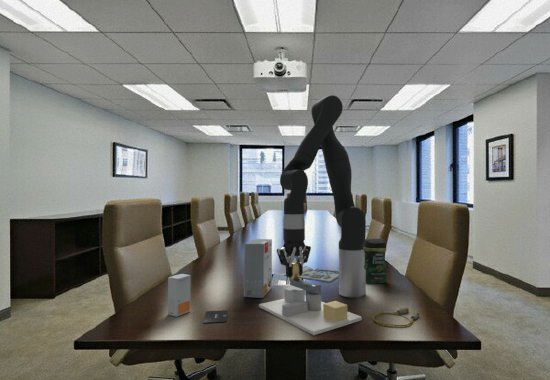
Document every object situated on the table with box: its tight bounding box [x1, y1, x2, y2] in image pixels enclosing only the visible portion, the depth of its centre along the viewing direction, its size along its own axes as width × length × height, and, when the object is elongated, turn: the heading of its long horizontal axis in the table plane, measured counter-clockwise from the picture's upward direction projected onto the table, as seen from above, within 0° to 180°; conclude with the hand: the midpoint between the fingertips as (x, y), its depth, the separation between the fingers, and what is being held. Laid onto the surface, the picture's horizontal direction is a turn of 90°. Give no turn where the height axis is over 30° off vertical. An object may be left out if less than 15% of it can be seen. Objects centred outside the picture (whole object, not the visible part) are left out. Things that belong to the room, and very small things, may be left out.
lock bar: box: [288, 261, 322, 294], centre depth 114 cm, size 14×5×8 cm, turn 34°
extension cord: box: [372, 307, 420, 329], centre depth 103 cm, size 12×16×2 cm
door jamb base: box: [258, 286, 363, 336], centre depth 108 cm, size 19×28×6 cm
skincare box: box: [167, 273, 192, 317], centre depth 109 cm, size 6×4×12 cm
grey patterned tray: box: [284, 265, 339, 284], centre depth 160 cm, size 23×3×20 cm
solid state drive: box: [202, 309, 229, 325], centre depth 106 cm, size 7×10×1 cm
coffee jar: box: [364, 238, 388, 284], centre depth 147 cm, size 10×8×19 cm
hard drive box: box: [243, 238, 273, 299], centre depth 132 cm, size 16×8×20 cm, turn 168°
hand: (294, 276), depth 118 cm, fingers closed on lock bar, 3 cm apart
